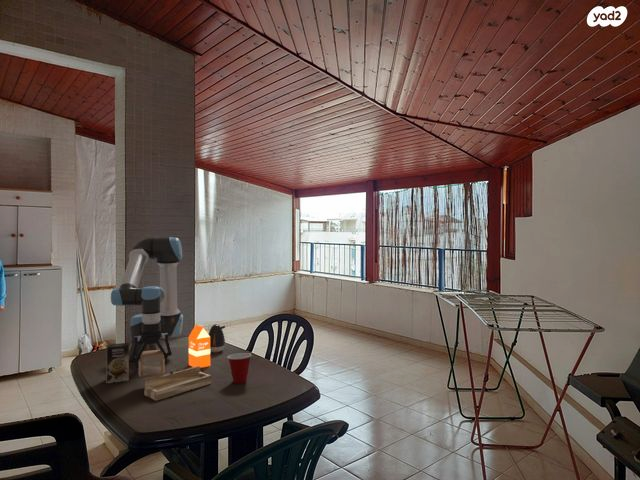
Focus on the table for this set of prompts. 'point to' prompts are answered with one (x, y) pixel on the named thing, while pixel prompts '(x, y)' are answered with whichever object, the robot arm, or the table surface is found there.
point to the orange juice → (199, 347)
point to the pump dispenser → (216, 338)
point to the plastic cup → (239, 366)
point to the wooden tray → (175, 383)
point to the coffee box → (117, 363)
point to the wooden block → (151, 363)
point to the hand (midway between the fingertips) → (151, 373)
